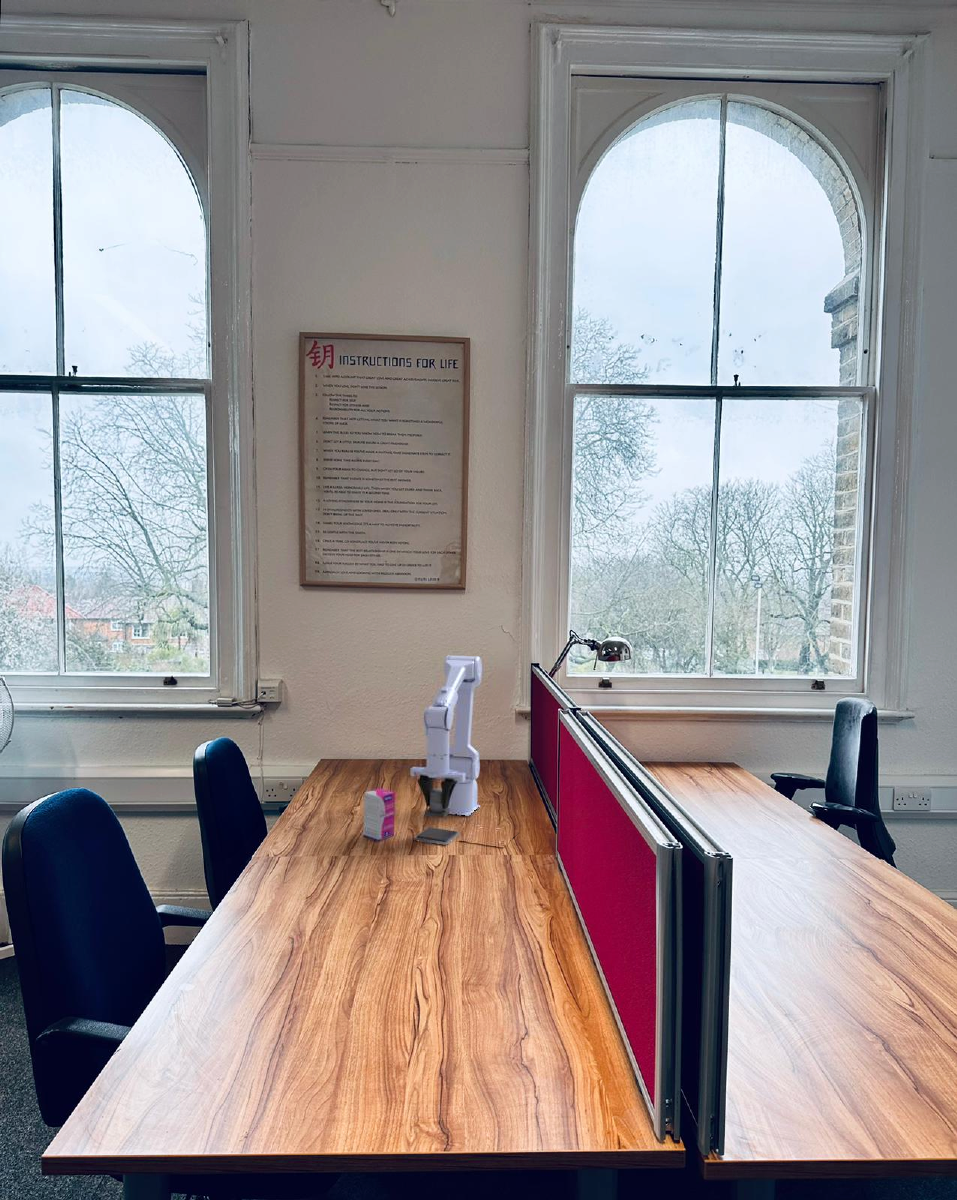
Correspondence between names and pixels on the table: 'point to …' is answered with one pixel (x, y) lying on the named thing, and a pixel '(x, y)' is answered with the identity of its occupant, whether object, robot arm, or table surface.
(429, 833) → the ink pad
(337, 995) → the table surface
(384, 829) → the supplement box
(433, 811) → the stamp
